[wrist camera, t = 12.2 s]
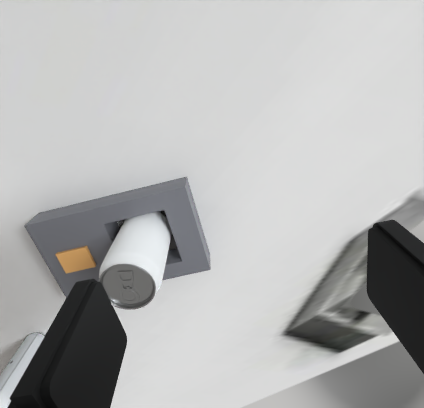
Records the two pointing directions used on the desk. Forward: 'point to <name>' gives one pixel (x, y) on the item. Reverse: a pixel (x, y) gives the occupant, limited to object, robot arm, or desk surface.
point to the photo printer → (18, 367)
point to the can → (136, 261)
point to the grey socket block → (108, 229)
